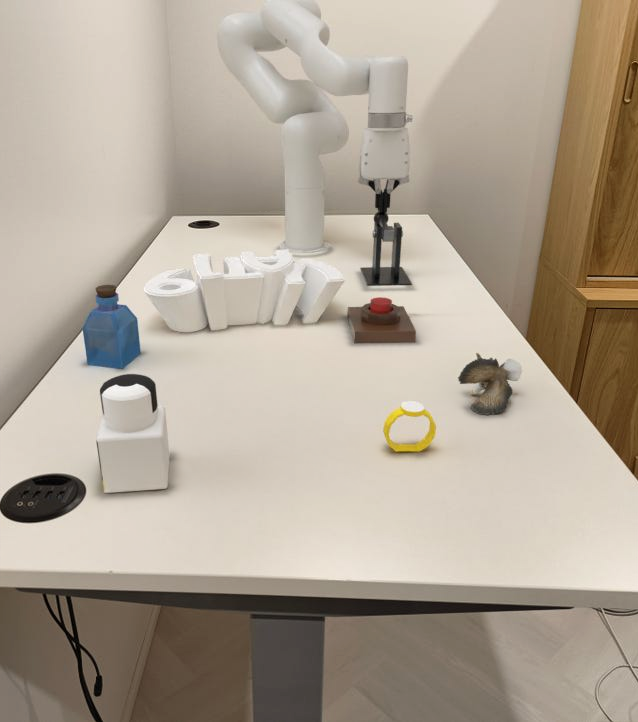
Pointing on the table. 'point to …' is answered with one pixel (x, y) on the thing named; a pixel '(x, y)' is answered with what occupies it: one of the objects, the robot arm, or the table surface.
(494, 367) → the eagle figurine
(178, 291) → the white letter sculpture
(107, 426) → the medicine bottle
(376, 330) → the button block
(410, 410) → the watch
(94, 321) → the perfume bottle
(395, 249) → the lever bracket
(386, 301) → the button
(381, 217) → the press lever
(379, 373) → the table surface
